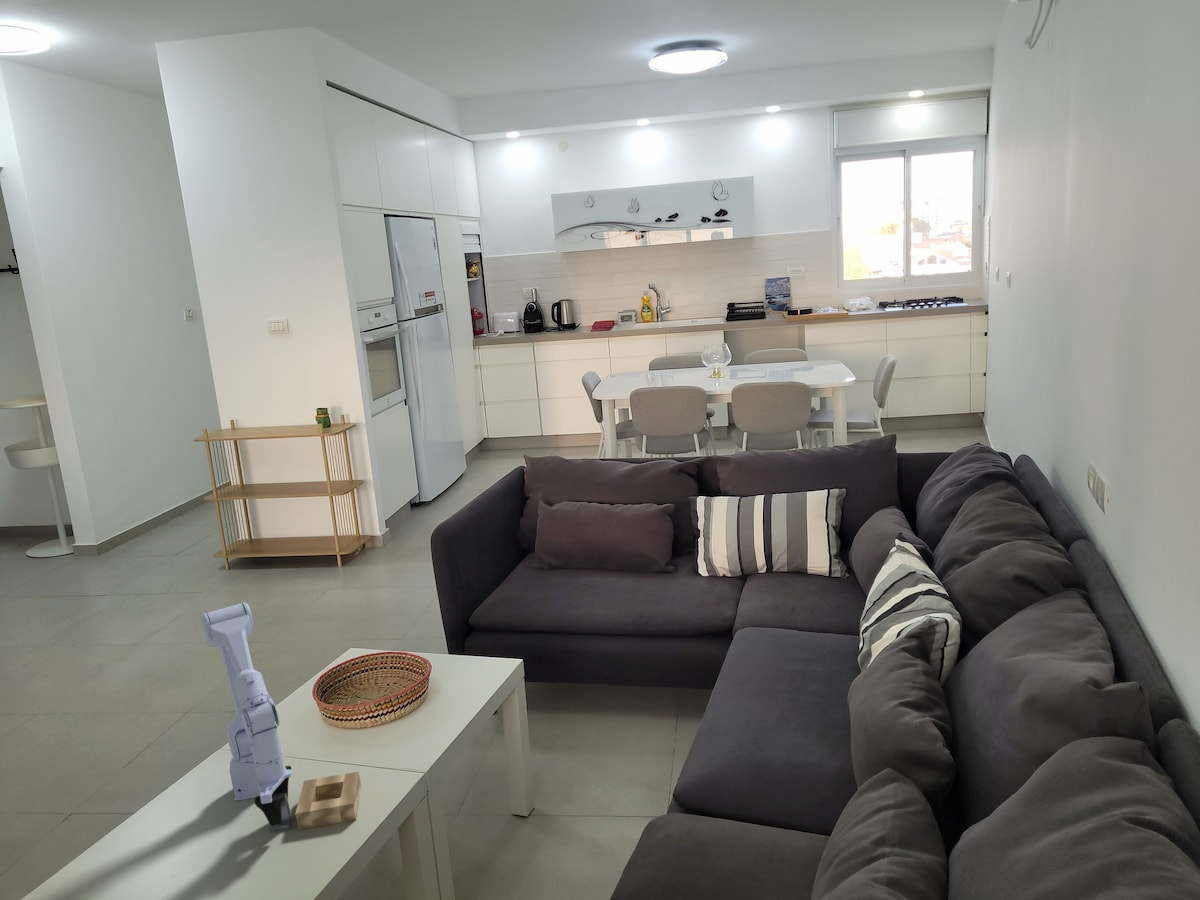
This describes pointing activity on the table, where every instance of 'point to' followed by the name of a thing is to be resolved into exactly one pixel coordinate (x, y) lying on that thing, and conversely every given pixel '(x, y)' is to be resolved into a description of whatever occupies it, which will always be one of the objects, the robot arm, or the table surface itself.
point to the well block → (328, 800)
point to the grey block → (283, 816)
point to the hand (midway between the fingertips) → (279, 812)
